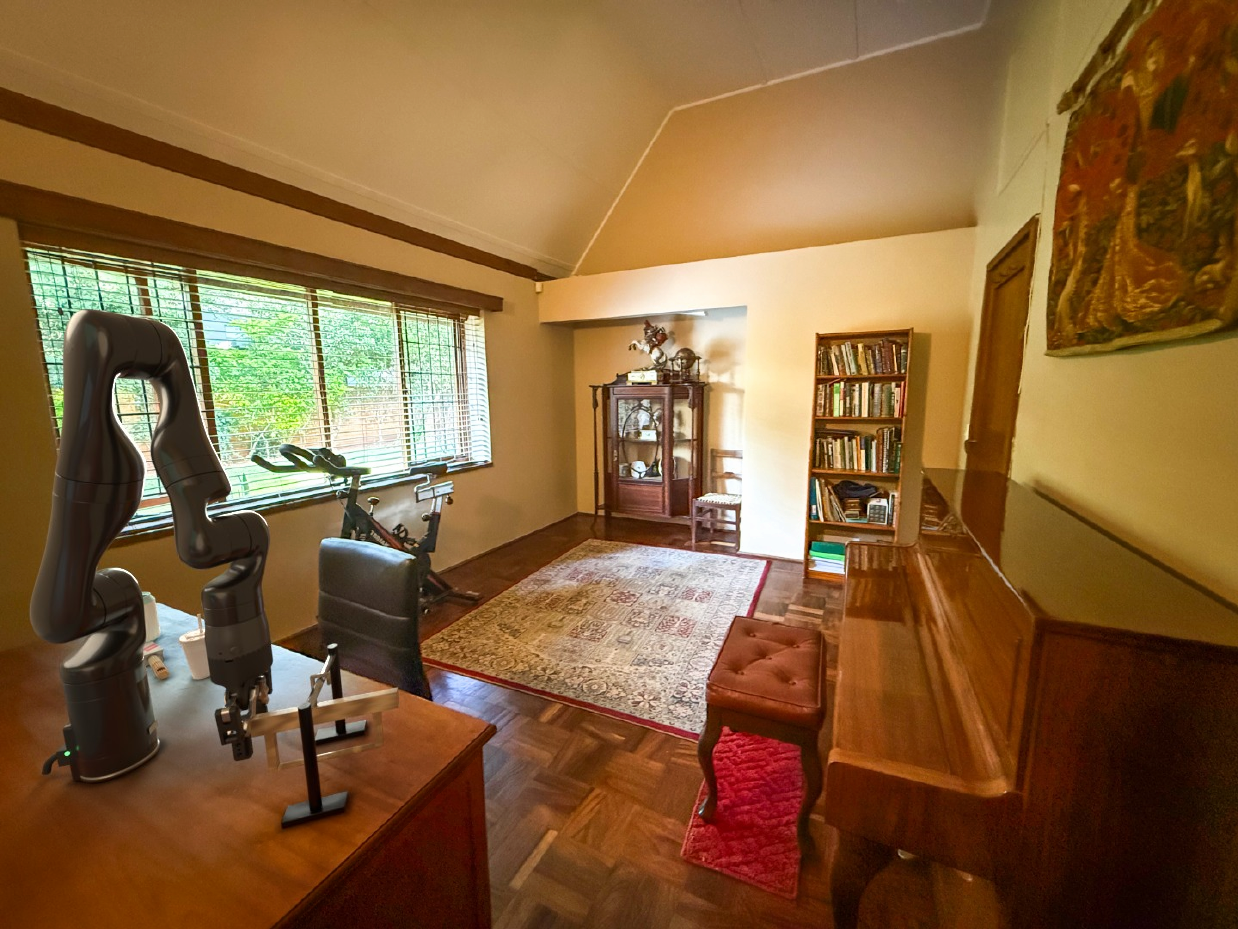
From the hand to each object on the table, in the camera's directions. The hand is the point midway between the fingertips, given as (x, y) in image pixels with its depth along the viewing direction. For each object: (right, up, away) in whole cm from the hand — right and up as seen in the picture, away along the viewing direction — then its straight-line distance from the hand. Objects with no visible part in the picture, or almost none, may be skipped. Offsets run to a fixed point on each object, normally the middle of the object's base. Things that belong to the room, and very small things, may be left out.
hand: (252, 742), depth 73 cm
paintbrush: (-50, -3, +35) cm, 61 cm away
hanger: (+9, -5, +4) cm, 12 cm away
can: (-63, -1, +45) cm, 78 cm away
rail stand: (+9, -7, +4) cm, 13 cm away
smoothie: (-35, -3, +31) cm, 47 cm away
